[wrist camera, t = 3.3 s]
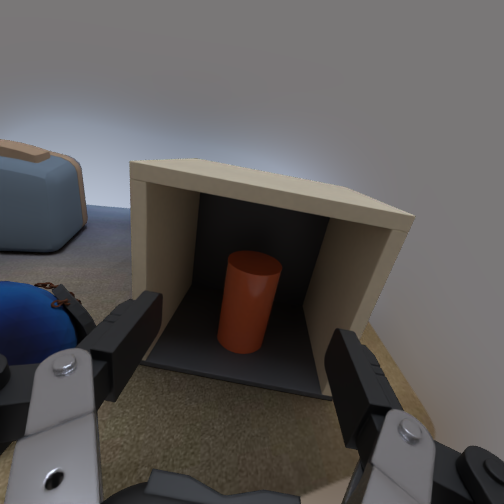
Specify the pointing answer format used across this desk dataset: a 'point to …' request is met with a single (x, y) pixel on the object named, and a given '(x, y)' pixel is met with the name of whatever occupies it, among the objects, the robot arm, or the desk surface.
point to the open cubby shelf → (265, 241)
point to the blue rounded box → (39, 198)
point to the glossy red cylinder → (247, 300)
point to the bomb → (39, 321)
